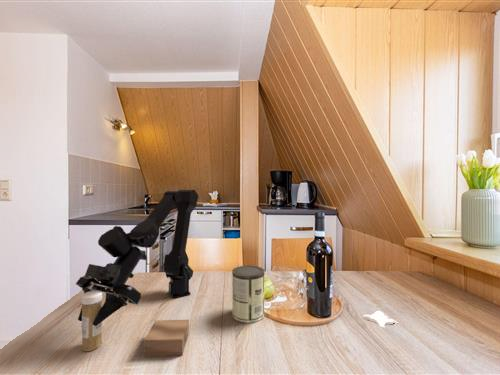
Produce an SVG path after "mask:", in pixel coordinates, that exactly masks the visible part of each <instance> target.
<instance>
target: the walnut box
mask: <svg viewBox="0 0 500 375" xmlns="http://www.w3.org/2000/svg"><path fill="white" fill-rule="evenodd" d="M189 322H190V321H189V319H164V320H163V319H161V320H160V319H159V320H154V321H153V323H152V326H151V327H150V329H149V330H148V332H147V334H146V336H145V338H144V340H143V357H144V358H146V357H147V358H149V357H151V358H152V357H153V358H154V357H177V356H178V357H180V356H183V355H184V352H185V348H186V344H187V341H188V338H189V333H190V332H189V331H190V330H189V329H190V328H189V326H190V325H189Z"/></svg>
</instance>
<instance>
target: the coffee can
mask: <svg viewBox="0 0 500 375" xmlns="http://www.w3.org/2000/svg"><path fill="white" fill-rule="evenodd" d="M231 272H232V298H231V299H232V313H231V314H232V318H233V319H234V320H235V321H237V322H240V323H245V324H247V323H248V324H251V323H256V322H259V321H261V320H263V319H264V317H265V272H266V271H265V268H262V267H261V266H256V265H239V266H236V267H234V268H233V269H232V270H231Z"/></svg>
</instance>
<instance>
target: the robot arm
mask: <svg viewBox="0 0 500 375" xmlns="http://www.w3.org/2000/svg"><path fill="white" fill-rule="evenodd" d="M198 200H199V194H198V193H197V191H196V190H195V189H179V190H167V191H165V192H164V193H163V196H162V198H161V199H160V201H159V202H158V204H156V206H155V207H154V208H153V209H152V211H151V212H150V214H149V215H148V216H147V218H145V219H144V220H142V221H141V222H139V223H138V224H136V225H135V226H134V227H133V228H132V229H131V230H130V232H126V231H125V229H123V228H122V226H117V225H115V226H113V228H111V229H109V230H107V231H106V232H104V233H103V234H102V235H101V236H100V237H99V238H98V241H97V244H98V246H99V247H101V248H102V249H103V250H104V251H105V252H107V253H108V254H109V255H110V256H111V257H112V258H116V259H115V261H113V263H112V262H109V263H107V264H106V265H105V266H102V265H96V264H93V263H91V264H90V263H89V264H88V266H87V269H86V272H85V274H84V275H83V276H79V279H78V280H77V281H76V282H75V285H77V286H78V287H80V288H81V290H82V291H83V294H84V293H86V292H89V291H96V290H98V291H101V292H102V293H105V301H104V302H103V305H102V308H101V310H100V311H99V313H98V315H97V316H96V318H95V320H94V322H93V325H94V326H97V325H98V324H100V323H101V322H102V323H103V321H105V320H106V319H107V318H109V317H110V316H111V315H113V314H114V313H115V312H117V311H119V310H120V309H121V308H123V307H124V306H125V307H126V306H127V305H128V303H129V304H132V305H135V306H138V304H139V302H140V300H141V299H142V298H141V297H142V294H141V292H140V291H139V290H138V289H136V288H135V287H134V286H132V285H129V284H126V283H127V281H128V280H129V279H133V278H134V276H135V274H133V272H134V271H135V269H136V267H137V265H138V264H139V262H140V261H142V260H143V261H147V258H148V256H147V253H146V250H141V249H140V248H145V249H148V248H149V249H150V248H152V247H153V246H154V245H155V244H156V242H157V240H158V238H159V235H160V228H161V226H162V225H163V223H164V222H165V220H166V218H168V215H169V214H170V213H171V212H172V210H173V208H174V207H175V208H176V210H177V215H176V221H175V228H174V235H173V238H172V239H173V240H172V247H171V250H170V252H169V253H168V254H165V256H164V260H163V264H162V265H163V271H164V273H165V276H166V278H167V279H170V280H169V281H168V294H169V295H170V296H171V297H172V299H177V298H180V297H185V296H189V295H191V292H190V289H189V288H190V280H192V278H193V275H194V270H193V269H192V268H191V267H190V265H189V256H188V254H187V252H186V249H187V244H188V238H189V237H188V236H189V230H190V222H191V216H192V215H191V214H192V212H193V211H194V210H195V209H196V207H197V205H198V204H197V203H198ZM103 299H104V297H102V300H103ZM127 301H128V303H127ZM80 308H81V309H80V312H79V315H78V317H77V321H78V322H82V307H80Z"/></svg>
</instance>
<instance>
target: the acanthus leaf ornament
mask: <svg viewBox="0 0 500 375" xmlns="http://www.w3.org/2000/svg"><path fill="white" fill-rule="evenodd" d="M361 318H362V319H363V318H364V319H365V320H367V321H369V320H370V321H369V322H372V321H373V322H372V323H375V322H376V324H377V323H378V326H379V325H380V326H379V327H380V328H381V327H383V328H382V329H385V328H386V325H385V324H387V325H389V324H393V323H399V322H398V321H396V320H395V319H393V318H389V317H388V316H387V315H385V314H384V313H383V312H382V311H380V310H377V311H375V312H374V313H372V314H364V315H362V317H361ZM384 325H385V326H384ZM393 325H394V324H393Z"/></svg>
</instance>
